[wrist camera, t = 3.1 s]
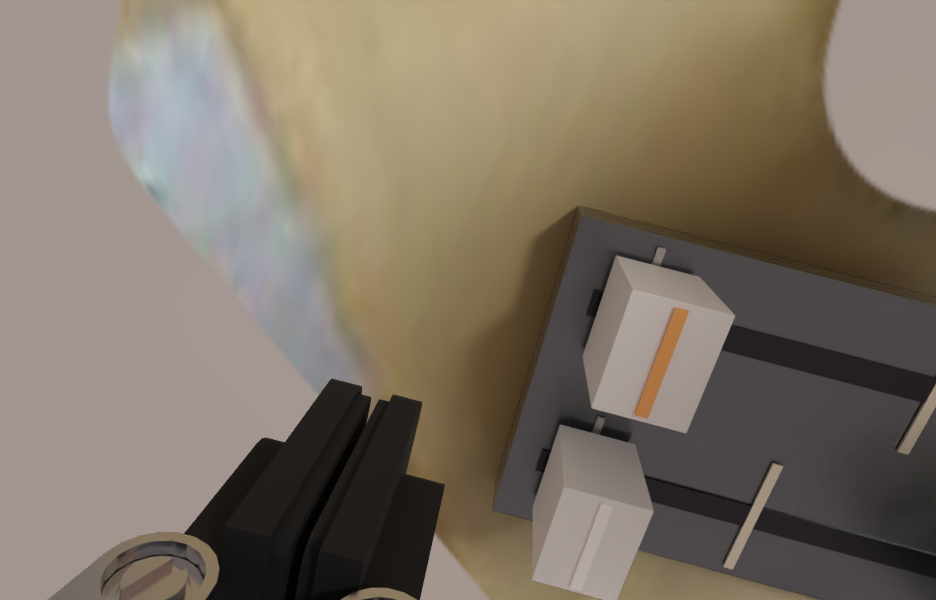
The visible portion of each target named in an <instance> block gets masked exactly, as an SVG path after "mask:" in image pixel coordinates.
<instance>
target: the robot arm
mask: <svg viewBox="0 0 936 600" xmlns="http://www.w3.org/2000/svg"><path fill="white" fill-rule="evenodd" d="M361 394H362V386H359V385H355V384H351V383H347V382H343V381H339V380H335V379H331V380H330V381H329V382H328V384H327V385H326V386H325V388H324V389H323V391H322V392H321V393H320V395H319V396H318V397H317V399H316V400H315V402H314V403H313V404H312V406H311V407H310V409H309V410H308V411H307V413H306V414H305V416H304V417H303V418H302V420H301V421H300V422H299V424H298V425H297V426H296V428H295V429H294V431H293V432H292V433H291V435H290V436H289V437H288V439H287V440H286V442H281V441H277V440H273V439H269V438H262V439H261V440H260V441H259V442H258V443H257V444H256V445H255V447H254V448H253V449H252V450H251V452H250V453H249V454H248V455H247V456H246V458H245V459H244V460H243V461H242V463H241V464H240V465H239V466H238V468H237V469H236V470H235V471H234V473H233V474H232V475H231V476H230V478H229V479H228V480H227V481H226V482H225V484H224V485H223V486H222V487H221V489H220V490H219V491H218V492H217V494H216V495H215V496H214V497H213V499H212V500H211V501H210V502H209V504H208V505H207V506H206V507H205V508H204V510H203V511H202V512H201V513H200V515H199V516H198V517H197V518H196V520H195V521H194V522H193V523H192V525H191V526H190V527H189V528H188V530H187V531H186V532H185V533H184V534H182V533H177V532H157V533H151V534H145V535H140V536H137V537H135V538H132V539H129V540H127V541H124V542H122V543H120V544H118V545H117V546H115V547H113V548H112V549H110V550H109V551H107V552H106V553H104V554H103V555H102V556H101V557H99V558H98V559H97V560H96V561H94V562H93V563H92V564H91V565H90V566H88V567H87V568H86V569H85V570H83V571H82V572H81V573H80V574H79V575H77V576H76V577H75V578H74V579H72V580H71V581H70V582H69V583H68V584H66V585H65V586H64V587H63V588H61V590H59V591H58V592H57V593H55V594H54V595H53V596H52V597H51V598H49V599H48V600H420V596H421V591H422V587H423V582H424V578H425V573H426V569H427V564H428V560H429V555H430V550H431V546H432V541H433V537H434V532H435V528H436V523H437V519H438V514H439V509H440V505H441V500H442V496H443V491H444V486H445V484H441V483H437V482H434V481H430V480H426V479H422V478H418V477H414V476H411V475H407V474H406V471H407V466H408V462H409V458H410V454H411V450H412V445H413V441H414V437H415V433H416V429H417V424H418V420H419V416H420V412H421V407H422V402H420V401H416V400H412V399H409V398H405V397H401V396H397V395H393V396H392V397H391V399H390V402H388V401H384V400H380V399H379V401H378V403H377V405H376V407H375V409H374V410H373V412H372V414H371V416H370V418H369V420H368V422H367V418H368V413H369V408H370V403H371V397H369V396H365V395H361ZM366 422H367V424H366Z"/></svg>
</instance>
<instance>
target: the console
mask: <svg viewBox="0 0 936 600" xmlns="http://www.w3.org/2000/svg"><path fill="white" fill-rule="evenodd" d="M616 255H617V256H620V257H624V258H628V259H632V260H636V261H640V262H644V263H648V264H652V265H655V266H659V267H663V268H667V269H671V270H675V271H679V272H683V273H687V274H690V275H694V276H698V277H700V278H701V279H702V280H703V281H704V282H705V283H706V284H707V285H708V286H709V288H710V289H711V290H712V291H713V292H714V293H715V294H716V295H717V296H718V297H719V298H720V299H721V301H722V302H723V303H724V304H725V305H726V306H727V307H728V308H729V309H730V310H731V311H732V313H733V314H734V315H735V318H734V320H733V323H732V325H731V327H730V330H729V332H728V335H727V337H726V339H725V342H724V344H723V347H722V349H721V351H720V354H719V356H718V359H717V361H716V363H715V366H714V368H713V371H712V373H711V375H710V378H709V380H708V383H707V385H706V387H705V390H704V392H703V395H702V397H701V399H700V402H699V404H698V407H697V409H696V411H695V414H694V416H693V419H692V421H691V423H690V426H689V428H688V431H687V433H683V432H679V431H675V430H671V429H668V428H664V427H660V426H656V425H653V424H649V423H645V422H641V421H638V420H634V419H630V418H626V417H622V416H619V415H615V414H611V413H607V412H604V411H600V410H596V409H592V408H591V403H590V397H589V391H588V385H587V379H586V374H585V368H584V362H583V353H584V350H585V347H586V344H587V341H588V338H589V335H590V332H591V329H592V326H593V323H594V320H595V317H596V314H597V311H598V308H599V305H600V302H601V299H602V296H603V293H604V290H605V287H606V284H607V281H608V278H609V275H610V272H611V269H612V266H613V263H614V260H615V257H616ZM560 424H561V425H564V426H568V427H572V428H576V429H579V430H583V431H587V432H591V433H594V434H598V435H602V436H606V437H609V438H613V439H617V440H620V441H624V442H628V443H632V444H635V446H636V449H637V453H638V456H639V460H640V463H641V467H642V471H643V474H644V478H645V481H646V485H647V488H648V492H649V495H650V499H651V503H652V506H653V510H654V512H653V515H652V517H651V519H650V522H649V524H648V527H647V529H646V531H645V534H644V536H643V539H642V541H641V543H640V546H639V548H638V550H641V551H644V552H648V553H652V554H655V555H659V556H663V557H666V558H670V559H674V560H677V561H681V562H685V563H688V564H692V565H696V566H699V567H703V568H707V569H710V570H714V571H718V572H721V573H725V574H729V575H732V576H736V577H740V578H743V579H747V580H751V581H754V582H758V583H762V584H765V585H769V586H773V587H776V588H780V589H784V590H787V591H791V592H795V593H798V594H802V595H806V596H809V597H813V598H817V599H820V600H936V297H934V296H930V295H926V294H922V293H918V292H914V291H910V290H906V289H902V288H898V287H895V286H891V285H887V284H883V283H879V282H875V281H871V280H867V279H863V278H859V277H855V276H851V275H847V274H844V273H840V272H836V271H832V270H828V269H824V268H820V267H816V266H812V265H808V264H804V263H800V262H797V261H793V260H789V259H785V258H781V257H777V256H773V255H769V254H765V253H761V252H757V251H753V250H749V249H746V248H742V247H738V246H734V245H730V244H726V243H722V242H718V241H714V240H710V239H706V238H702V237H699V236H695V235H691V234H687V233H683V232H679V231H675V230H671V229H667V228H663V227H659V226H655V225H651V224H648V223H644V222H640V221H636V220H632V219H628V218H624V217H620V216H616V215H612V214H608V213H604V212H601V211H597V210H593V209H589V208H585V207H581V206H578V209H577V212H576V215H575V219H574V222H573V225H572V229H571V232H570V235H569V239H568V242H567V245H566V249H565V252H564V255H563V259H562V262H561V265H560V269H559V272H558V275H557V279H556V282H555V285H554V289H553V292H552V295H551V299H550V302H549V305H548V309H547V312H546V315H545V319H544V322H543V325H542V329H541V332H540V335H539V339H538V342H537V345H536V349H535V352H534V355H533V359H532V362H531V365H530V369H529V372H528V375H527V379H526V382H525V385H524V389H523V392H522V395H521V399H520V402H519V405H518V409H517V412H516V415H515V419H514V422H513V425H512V429H511V432H510V435H509V439H508V442H507V445H506V449H505V452H504V455H503V459H502V462H501V465H500V469H499V472H498V475H497V479H496V482H495V491H494V500H493V509H492V510H494V511H498V512H501V513H505V514H509V515H512V516H516V517H520V518H523V519H527V520H531V521H533V504H534V501H535V498H536V495H537V492H538V489H539V486H540V483H541V480H542V477H543V474H544V471H545V468H546V465H547V462H548V459H549V456H550V453H551V450H552V447H553V444H554V441H555V438H556V435H557V432H558V429H559V426H560Z"/></svg>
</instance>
